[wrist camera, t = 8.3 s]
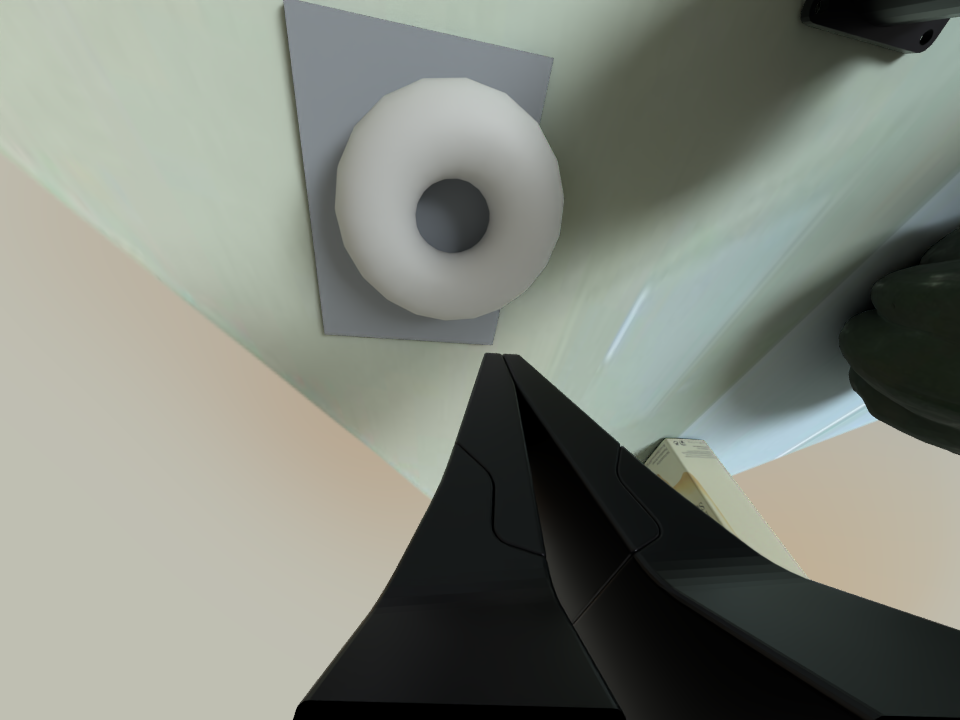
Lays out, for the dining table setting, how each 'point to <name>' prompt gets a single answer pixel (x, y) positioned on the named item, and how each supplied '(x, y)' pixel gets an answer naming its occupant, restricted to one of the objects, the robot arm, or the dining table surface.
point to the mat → (330, 121)
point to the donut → (448, 155)
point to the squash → (912, 348)
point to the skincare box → (717, 495)
